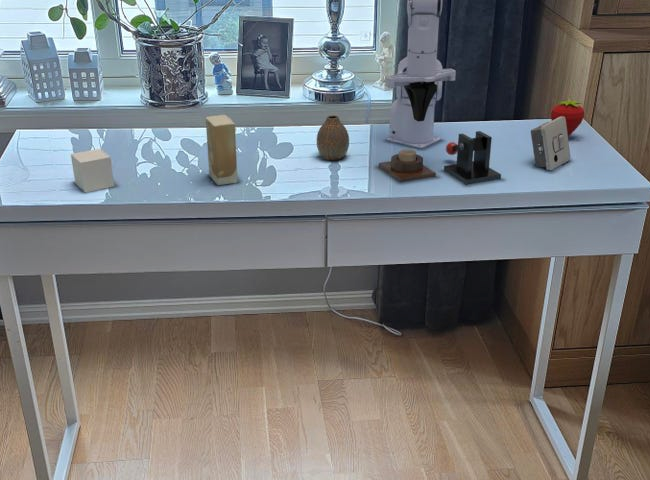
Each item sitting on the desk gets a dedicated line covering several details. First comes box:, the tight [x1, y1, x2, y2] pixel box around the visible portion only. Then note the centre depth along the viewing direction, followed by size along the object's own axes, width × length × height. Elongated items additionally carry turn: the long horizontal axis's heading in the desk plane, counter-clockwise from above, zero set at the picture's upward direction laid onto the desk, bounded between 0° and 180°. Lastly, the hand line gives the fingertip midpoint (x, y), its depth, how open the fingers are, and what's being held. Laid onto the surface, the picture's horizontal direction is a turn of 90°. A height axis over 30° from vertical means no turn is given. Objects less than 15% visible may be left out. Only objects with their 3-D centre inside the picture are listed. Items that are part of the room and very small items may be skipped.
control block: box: [378, 153, 437, 183], centre depth 184 cm, size 10×8×3 cm
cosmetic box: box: [205, 114, 239, 186], centre depth 178 cm, size 6×4×12 cm
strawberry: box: [549, 92, 585, 138], centre depth 201 cm, size 6×8×10 cm
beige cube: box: [70, 148, 115, 193], centre depth 177 cm, size 6×6×6 cm
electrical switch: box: [530, 117, 571, 171], centre depth 187 cm, size 9×5×9 cm, turn 141°
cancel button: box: [397, 148, 417, 162], centre depth 183 cm, size 4×4×2 cm
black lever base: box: [443, 130, 502, 186], centre depth 181 cm, size 9×8×8 cm
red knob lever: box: [445, 137, 483, 156], centre depth 184 cm, size 12×3×3 cm, turn 24°
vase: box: [316, 114, 350, 161], centre depth 190 cm, size 7×7×9 cm
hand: (418, 119), depth 181 cm, fingers closed
